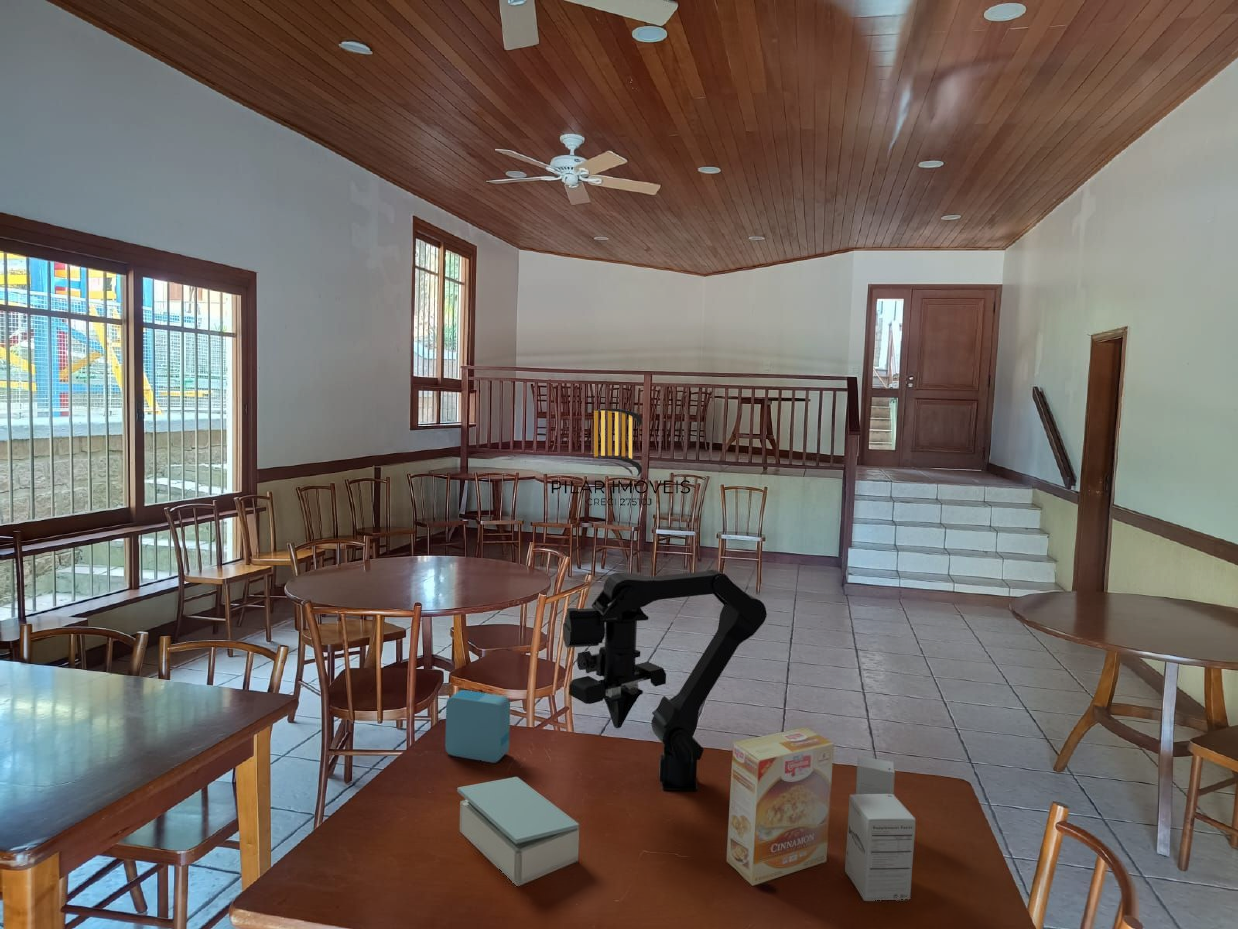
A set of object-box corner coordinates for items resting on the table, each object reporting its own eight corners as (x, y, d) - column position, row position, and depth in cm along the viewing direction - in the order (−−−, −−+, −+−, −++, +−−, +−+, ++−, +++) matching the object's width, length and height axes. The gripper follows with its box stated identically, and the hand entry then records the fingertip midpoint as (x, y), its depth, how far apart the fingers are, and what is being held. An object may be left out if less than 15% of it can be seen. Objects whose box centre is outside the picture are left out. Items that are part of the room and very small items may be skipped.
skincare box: (890, 829, 130) (895, 761, 129) (891, 842, 126) (895, 772, 125) (853, 822, 132) (857, 755, 131) (852, 834, 127) (857, 765, 127)
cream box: (517, 810, 131) (518, 782, 131) (577, 860, 117) (579, 829, 117) (459, 831, 124) (460, 801, 124) (516, 887, 110) (517, 854, 110)
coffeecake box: (752, 887, 112) (759, 760, 111) (724, 861, 119) (730, 740, 117) (829, 863, 119) (836, 742, 118) (798, 839, 125) (805, 725, 124)
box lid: (516, 780, 131) (516, 776, 131) (578, 828, 117) (579, 824, 117) (457, 791, 124) (457, 787, 124) (515, 843, 109) (516, 839, 109)
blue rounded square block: (509, 754, 152) (510, 696, 151) (499, 764, 148) (501, 704, 147) (455, 745, 156) (456, 688, 155) (444, 754, 151) (445, 696, 150)
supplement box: (843, 871, 117) (848, 792, 116) (889, 871, 118) (894, 792, 117) (862, 902, 110) (867, 818, 109) (911, 901, 110) (917, 818, 109)
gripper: (631, 625, 149) (628, 702, 151) (552, 640, 138) (550, 724, 139) (669, 640, 141) (666, 721, 142) (589, 657, 129) (586, 746, 130)
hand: (617, 727), depth 138 cm, fingers closed
